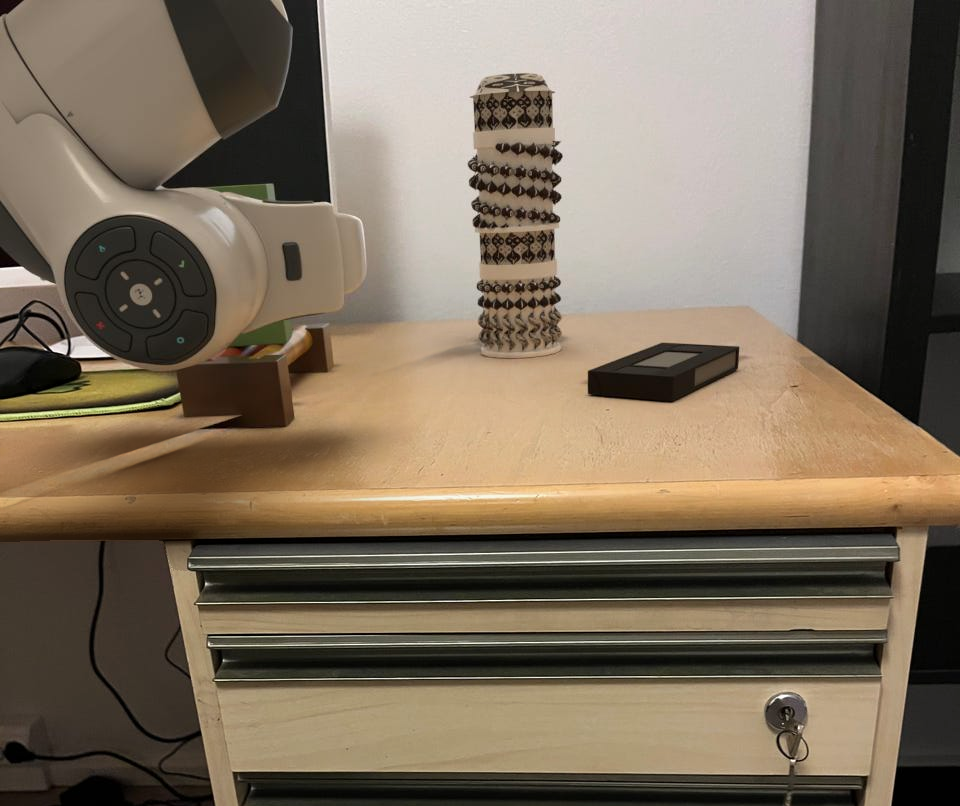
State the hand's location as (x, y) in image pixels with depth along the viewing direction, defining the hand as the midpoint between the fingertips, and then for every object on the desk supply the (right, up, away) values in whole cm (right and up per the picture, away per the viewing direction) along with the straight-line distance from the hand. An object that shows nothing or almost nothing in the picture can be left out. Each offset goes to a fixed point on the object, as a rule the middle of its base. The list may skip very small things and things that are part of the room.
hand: (232, 250), depth 73 cm
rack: (0, -8, +13) cm, 15 cm away
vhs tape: (+35, -7, +11) cm, 37 cm away
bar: (0, -4, +10) cm, 11 cm away
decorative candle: (+23, +1, +29) cm, 37 cm away
